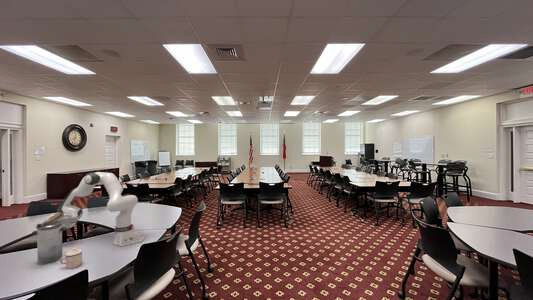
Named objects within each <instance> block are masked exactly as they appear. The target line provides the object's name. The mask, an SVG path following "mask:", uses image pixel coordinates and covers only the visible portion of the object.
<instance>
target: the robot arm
mask: <svg viewBox="0 0 533 300" xmlns="http://www.w3.org/2000/svg"><path fill="white" fill-rule="evenodd" d="M97 185H98V186H99V185H103V186H104V188H105V189H106V192H107V194H108V196H109V197H108V198H109V199H108V201H107V204H106V209H107V210H108V211H109V212H110V213H115V212H119V213H118V214H117V215H116V216H115V226H114V233H115V234H114V235H115V237H114V241H113V245H114V246H119V247H124V246H128V245H133V244H137V243H138V244H139V243H141V242H143V241H144V240H145V238H144V235H142V234H141V231H140V230H138V229H136V228H135V225H134V224H133V223H131V222H132V214H133V210H134V208H135V206H137V205H138V202H139V201H138V200H139V199H138V197H137V196H136V195H134V194H129V195H124V196H123V195H122V193H123V191H124V187H123V185H122V184H121V182H120V180H119V178H118V177H117V176H116V175H115V174H114V173H112V172H107V171H105V172H104V171H103V172H102V171H96V172H90V173H86V174H85V176H84V177H82V179H81V181H80V183H79V185H78V186H77V187H75V188H72V189H71V190H70V192H69V193H68V194H67V196H66V197H65V199H64V200H62V203H61V204H60V205H59V206H58V208H56V209H57V210H56V213H57V212H58V210H62V211H63V216H61V217H60V218H59V219H58V220H57V221H62V222H63V224H62V227H66V229H70V228H73V227H74V226H75V224H76V223H77V222H78V221H79V220H80V219H81V218H82V217H83V214H84V210H83V209H82V208H80V207H78V206H75V205H72V204H71V202H72V200H73V199H74V198H75V197H88V196H90V195H91V194H92V193H93V191H94V189H95V186H97ZM53 215H54V214H53ZM53 215H52V214H51V215H49V216H45V219H44V222H45V221H46V220H48V219H49V218H51V217H52V216H53Z"/></svg>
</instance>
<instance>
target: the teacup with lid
mask: <svg viewBox="0 0 533 300" xmlns="http://www.w3.org/2000/svg"><path fill="white" fill-rule="evenodd" d="M64 255H65V256H62V258H61V259H60V260H59V263H60V265H65V268H66V269H74V268H78V267H80V266H81V265H82V264H83V250H82V249H80V248H79V249H77V248H75V247H74V248H72V250H70V251H68V252H66V253H65V254H64ZM63 259H65V262H63V261H62V260H63Z"/></svg>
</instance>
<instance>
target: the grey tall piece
mask: <svg viewBox="0 0 533 300" xmlns="http://www.w3.org/2000/svg"><path fill="white" fill-rule="evenodd" d="M46 221H47V220H46ZM62 224H63V222H62V221H57V219H55V220H54V221H52V222H51V226H45V221H43V222H42V223H37V224H36V226H35V229H36V230H34V231H32V233H31V234H32V235H36V240H37V241H36V243H37V250H36V251H37V265H40V266H43V265H50V264H53V263H56V262H58V261H59V262H60V259H61V258H62V257H63V232H64V231H66V230H67V228H66V227H62ZM61 260H62V259H61Z"/></svg>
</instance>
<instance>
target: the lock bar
mask: <svg viewBox="0 0 533 300" xmlns="http://www.w3.org/2000/svg"><path fill="white" fill-rule="evenodd" d="M61 216H63V211H62V210H58V212H57V211H56V213H55V214H53V216H52V217H51V218H49V219H48V220H47V221H45V220H44V222H45V226H51V222H52V221H54V220H55V219H57V220H58V219H59V218H60V217H61Z"/></svg>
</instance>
